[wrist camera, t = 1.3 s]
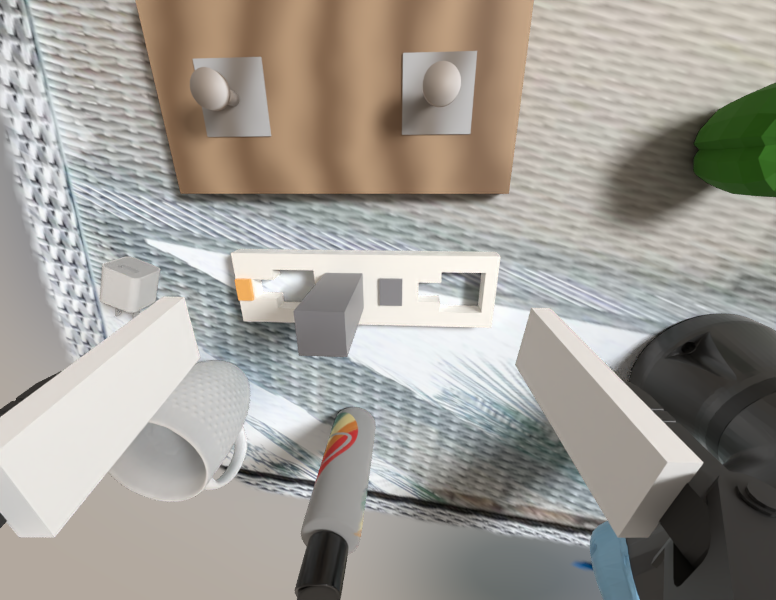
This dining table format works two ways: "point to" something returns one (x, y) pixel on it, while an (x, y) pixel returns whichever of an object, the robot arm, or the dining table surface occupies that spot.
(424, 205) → the dining table surface
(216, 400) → the mug
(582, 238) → the dining table surface
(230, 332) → the dining table surface
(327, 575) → the lotion bottle
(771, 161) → the bell pepper
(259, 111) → the pin board
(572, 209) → the dining table surface
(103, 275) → the usb wall charger
